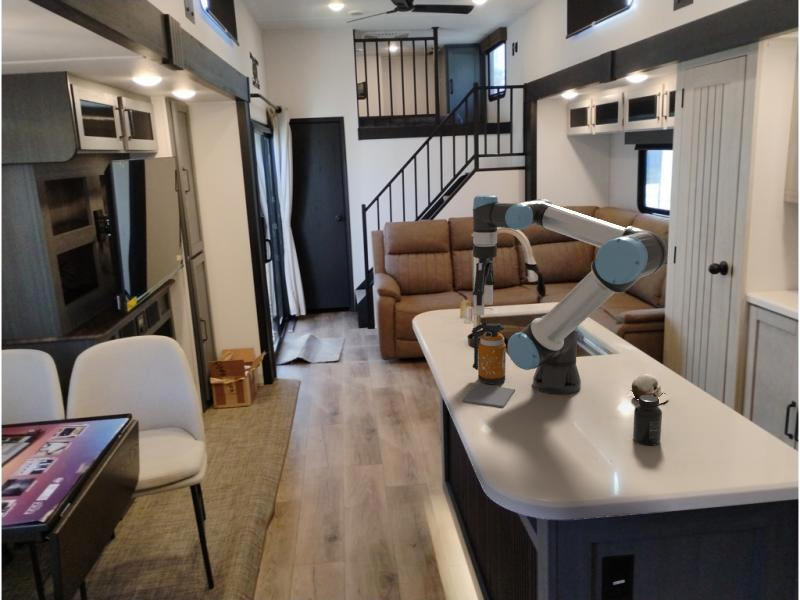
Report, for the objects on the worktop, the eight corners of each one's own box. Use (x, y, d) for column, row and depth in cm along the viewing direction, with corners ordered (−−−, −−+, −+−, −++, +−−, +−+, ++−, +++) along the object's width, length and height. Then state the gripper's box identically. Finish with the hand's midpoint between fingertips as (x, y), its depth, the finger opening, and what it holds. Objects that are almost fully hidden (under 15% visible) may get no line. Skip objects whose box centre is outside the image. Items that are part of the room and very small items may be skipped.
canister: (504, 386, 206) (505, 327, 201) (470, 384, 208) (470, 326, 203) (505, 376, 214) (506, 319, 209) (473, 374, 216) (473, 318, 212)
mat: (515, 390, 202) (515, 389, 201) (503, 407, 189) (503, 405, 189) (476, 385, 207) (476, 383, 207) (462, 401, 194) (462, 399, 194)
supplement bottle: (659, 436, 169) (662, 394, 166) (660, 447, 163) (664, 404, 160) (632, 433, 171) (635, 391, 168) (632, 444, 165) (635, 401, 162)
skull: (646, 383, 202) (664, 368, 194) (661, 412, 197) (681, 398, 189) (616, 388, 198) (633, 372, 190) (631, 418, 193) (649, 403, 185)
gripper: (481, 238, 211) (481, 299, 217) (463, 250, 189) (463, 318, 194) (503, 238, 209) (502, 300, 214) (488, 251, 186) (487, 320, 191)
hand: (484, 309), depth 204 cm, fingers open, 13 cm apart
